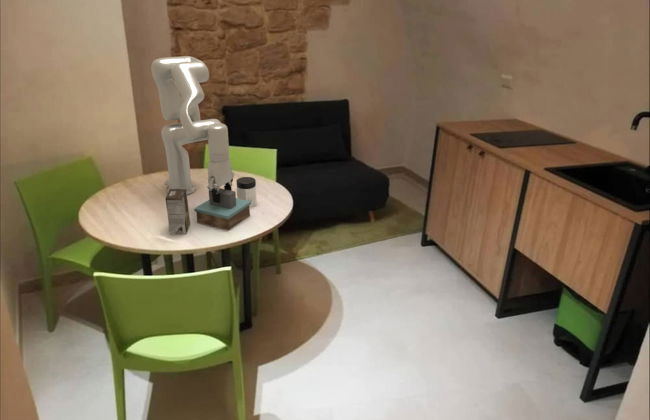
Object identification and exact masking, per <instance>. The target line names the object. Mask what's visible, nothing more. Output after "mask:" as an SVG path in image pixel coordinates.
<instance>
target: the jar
mask: <svg viewBox="0 0 650 420" xmlns="http://www.w3.org/2000/svg"><path fill="white" fill-rule="evenodd" d="M256 180H257V179H256V178H254V177H251V176H241V177H238V178H237V179H236V198H238V199H242V200H247V201H251V204H250V205H249V208H253V207H256V206H257V182H256Z"/></svg>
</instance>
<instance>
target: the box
mask: <svg viewBox="0 0 650 420" xmlns="http://www.w3.org/2000/svg"><path fill="white" fill-rule="evenodd" d="M250 209H251V208H250V207H249V206H247V207H246V208H244V209H243V210H241V211H240V212H238V213H237V214H235V215H234V216H232V217H231V218H229V219H225V218H221V217H217V216H213V215H208V214H204V213H200V212H196V211H195V212H196V221H197V222H196V223H199V224H202V225H205V226H206V225H207V226H211V227H215V228H218V229H223V230H226V231H230V230H231V229H232V228H234V227H236V226H238V224H240V223H241V222H243V221H244V220H245V219H247V218H248V217H249V216H251V214H250V213H251V211H250Z"/></svg>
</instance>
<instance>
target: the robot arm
mask: <svg viewBox="0 0 650 420" xmlns="http://www.w3.org/2000/svg"><path fill="white" fill-rule="evenodd" d="M150 69H151V70H150V71H151V75H152V78H153V81H154V83H155V85H156V87H157V90H158V96H159V103H160V104H159V105H160V108H161V109H160V110H161V111H160V112H161V113H162V117H163V119H164V120H165V121H168V122H172V121H173V123H169V124H167V125H165V126H163V127H162V128H161V138H162V141H163V145H164V148H165V149H164V150H165V156H166V162H167V171H168V178H166V179H165V181H164V183H163V184H164V185H166V186H168V187H167V190H166V192H167V193H168V192H169V190H170V189H186V192H187V196H188V195H191V194H193V193H194V192H196V186H195V185H193V184H192V175H191V174H192V173H191V167H190V166H191V165H190V158H189V156H190V155H189V152H188V151H187V150H186V149H185V148H184V147H183V145H186V144H192V143H197V142H201V141H207V143H208V156H209V161H208V166H207V181H208V184H207V186H206V188H207V190H208V191H209V190H210V191H211V193H212V198H213V202H216V203H220V193H219V188H221V187H222V186H223V189H226V190H231V191H233V190H232V189H233V188H232V187H233V182H234V177H235V173H234V172H233V169H232V162H231V159H230V158H231V157H230V147H229V146H230V144H229V143H230V142H229V131H228V130H229V129H228V126H227V125H226V124H224V123H222V122H221V121H220V120H219V119H217V118H209V119H203V120H201V114H200V113H201V112H200V108H199V104H200V103H201V102H203V100H204V99H205V92H204V91H203V88H202V86H201V84H200V83H205V82H207V81H208V80H209V79H210V72H209V71H210V70H209V69H208V66H207V65H206V64H205V63H204V61H202V60H200V59H198V58H196V57H194V56H190V55H189V56H188V55H183V56H170V57H169V56H168V57H159V58H157V59H154V60H153V61H152V63H151V67H150ZM174 121H180V122H175V123H174ZM215 187H217V188H216V190H215Z"/></svg>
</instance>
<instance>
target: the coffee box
mask: <svg viewBox="0 0 650 420" xmlns="http://www.w3.org/2000/svg"><path fill="white" fill-rule="evenodd" d="M188 201H189V200H188V195H187V192H186V189H170V190H169V192H167V195H166V197H165V205H166V212H167V213H166V215H167V221H168V229H169V235H187V234H188V231H189V228H190V226H191V221H190V211H189V202H188Z"/></svg>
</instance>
